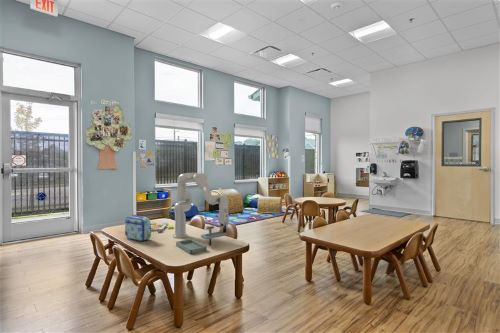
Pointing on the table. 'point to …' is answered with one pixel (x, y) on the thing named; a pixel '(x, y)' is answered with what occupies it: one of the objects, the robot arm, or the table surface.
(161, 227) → the pattern blocks set
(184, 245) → the tray
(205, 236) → the grey elongated block
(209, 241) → the stake
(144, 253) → the table surface
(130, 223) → the lunch box
